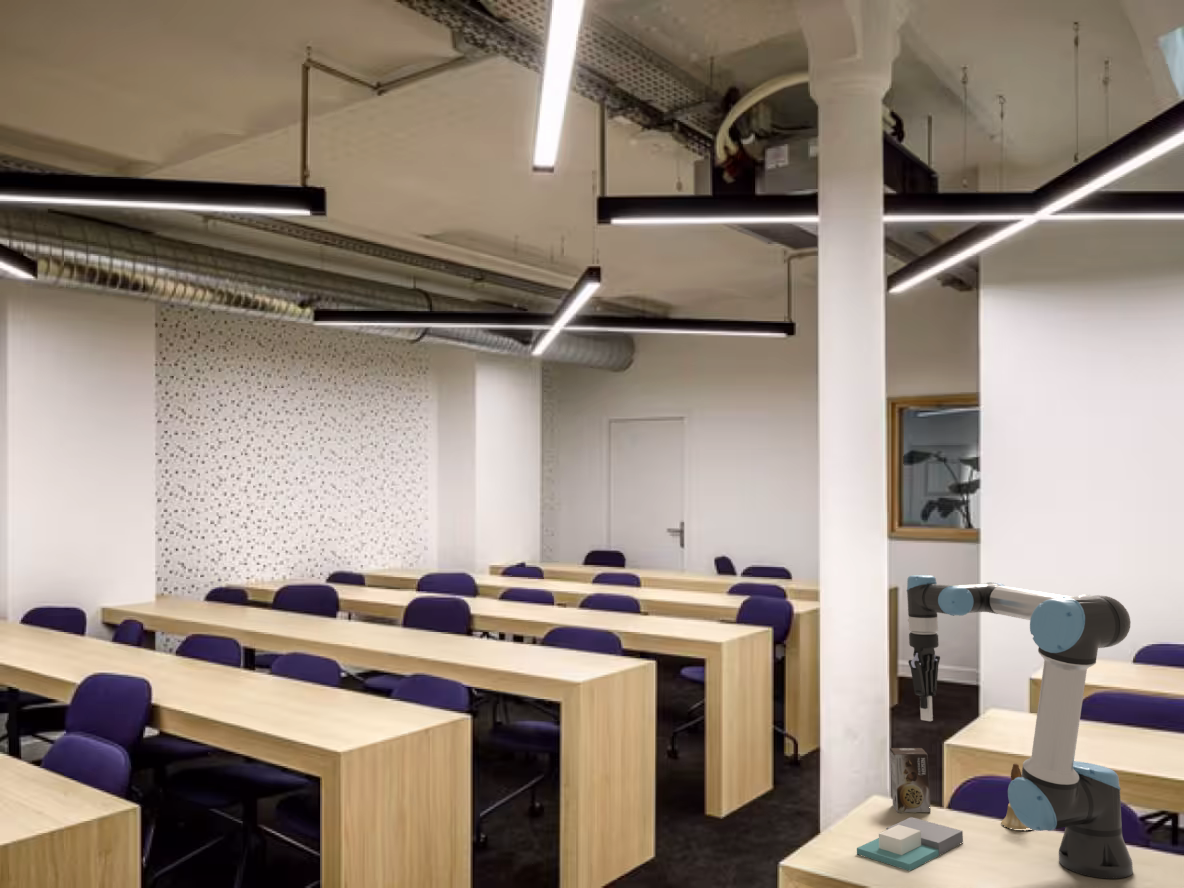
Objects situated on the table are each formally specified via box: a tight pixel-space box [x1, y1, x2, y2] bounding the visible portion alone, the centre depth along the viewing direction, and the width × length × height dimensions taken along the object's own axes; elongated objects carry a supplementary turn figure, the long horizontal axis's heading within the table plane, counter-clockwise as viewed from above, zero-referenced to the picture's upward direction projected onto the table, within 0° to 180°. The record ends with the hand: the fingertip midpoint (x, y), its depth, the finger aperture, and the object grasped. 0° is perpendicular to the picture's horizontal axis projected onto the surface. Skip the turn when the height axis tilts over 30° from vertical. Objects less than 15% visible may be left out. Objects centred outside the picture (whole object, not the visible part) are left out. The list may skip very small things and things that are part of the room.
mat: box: [856, 837, 940, 872], centre depth 221 cm, size 14×13×2 cm
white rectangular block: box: [878, 825, 921, 855], centre depth 222 cm, size 6×9×4 cm, turn 131°
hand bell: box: [1000, 763, 1028, 829], centre depth 240 cm, size 8×8×16 cm
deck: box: [886, 816, 964, 856], centre depth 229 cm, size 14×12×3 cm
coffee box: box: [889, 747, 932, 814], centre depth 254 cm, size 9×6×16 cm
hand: (926, 720), depth 247 cm, fingers closed
